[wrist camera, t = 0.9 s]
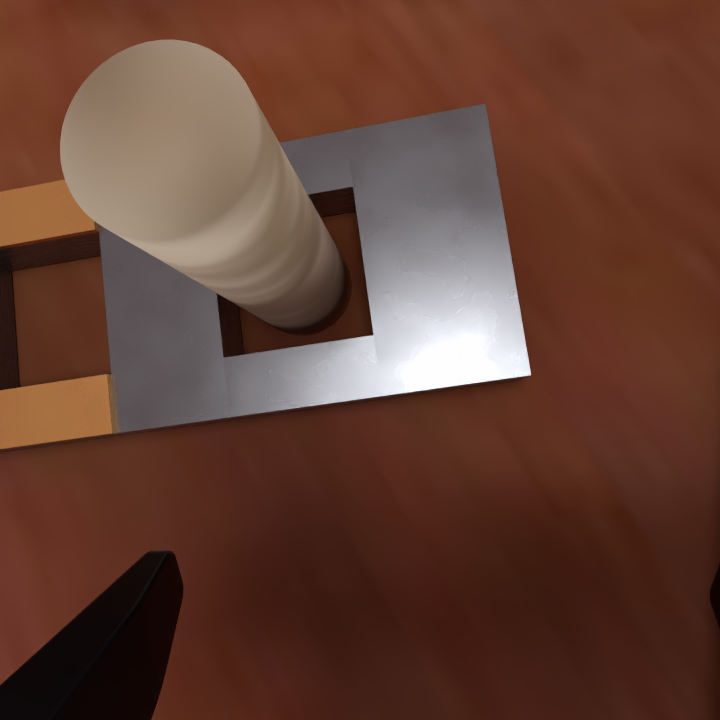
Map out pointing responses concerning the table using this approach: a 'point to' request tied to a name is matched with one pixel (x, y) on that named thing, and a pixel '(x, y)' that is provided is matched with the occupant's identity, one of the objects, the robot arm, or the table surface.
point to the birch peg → (201, 183)
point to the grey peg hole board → (221, 317)
